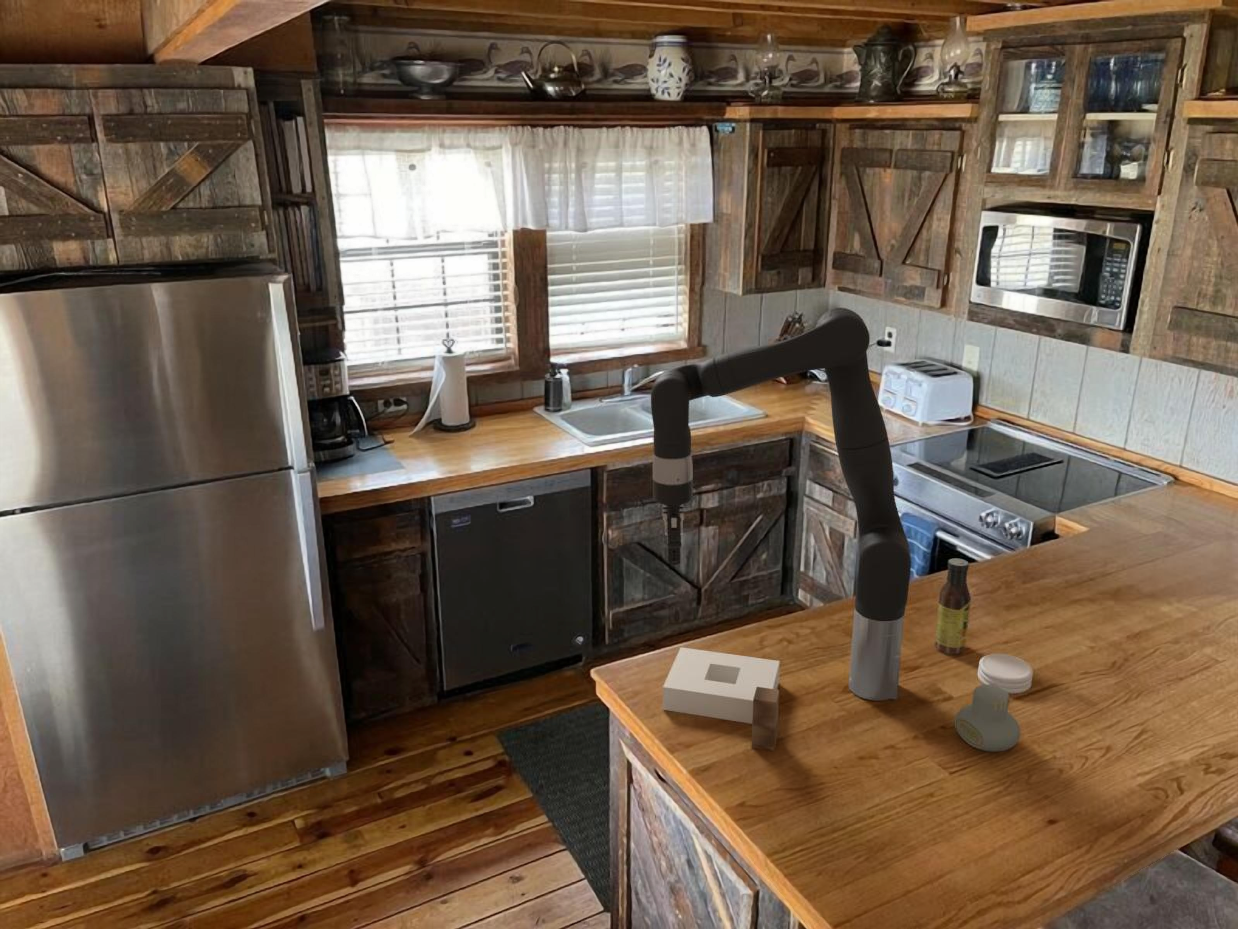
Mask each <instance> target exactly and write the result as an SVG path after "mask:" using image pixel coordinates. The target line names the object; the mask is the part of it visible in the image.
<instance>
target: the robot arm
mask: <svg viewBox="0 0 1238 929" xmlns="http://www.w3.org/2000/svg"><path fill="white" fill-rule="evenodd" d="M870 338H871V335H870V332H869V330H868V326H867V325H866V323H865V321H864V319H863V318H862V317H861V315H859V314H858V313H856V312H855V311H853V310H852V309H849V308H845V307H834V308H830V309H829V310H827V311H825V312H824V313H823V314H822V315H821V316H820V317H819V319H818V321H816V324H815V326H814V328H812V329H810V330H808V331H805V332H803V333H802V334H799V335H796V336H793V337H791V338H787V339H785V340H781V341H777V342H773V343H766V344H761V345H755V346H750V347H745V348H740V349H737V350H733V351H730V352H727V353H724V354H721V355H718V356H714V357H712V358H710V359H707V360H704V361H698V362H694V363H688V364H684V365H679V366H675V367H672V368H669V369H667V370H664V371H663V372H662V373H659V375H658V376H657V378H656V379H655V381H654V383H653V386H652V387H651V392H650V408H651V418H652V419H651V420H652V424H653V440H652V441H653V459H652V492H653V493H652V494H653V496H652V498H653V500H654V501H655V502H656V503H657V504H659V505H664V506H662V520H663V521H664V535H665V536H667V542H666V546H667V553H668V554H667V555H668V559H667V560H668V564H669V565H671V566H675V565H680V564H681V547H682V540H681V539H682V538H681V536H682V535H683V534H684V528H683V526H684V524H683V521H684V520H685V515H684V514H685V511H684V505H686V504H688V503H690V502H691V501H693V499H694V498H693V497H694V493H693V492H694V491H693V490H694V489H693V488H694V486H693V485H694V484H693V483H694V478H693V477H694V473H693V471H694V470H693V457H692V434H691V433H692V432H691V427H690V424H689V420H690V419H689V418H690V411H689V410H690V402H691V401H692V400H697V399H701V398H704V397H707V396H708V397H711V398H717V397H722V396H726V395H730V394H732V393H735V392H740V391H742V390H745V389H748V388H751V387H755V386H758V385H760V384H763V383H767V382H770V381H773V380H776V379H781V378H783V377H787V376H790V375H795V374H800V373H805V372H809V371H815V370H816V371H817V370H821V369H822V370H823V369H824V371H825V375H826V379H827V383H828V386H829V387H828V388H829V392H830V393H829V394H830V403H831V407H830V408H831V417H832V418H831V419H832V425H833V427H832V428H833V433H834V442H835V445H836V450H837V456H838V460H839V464H840V469H841V472H842V475H843V478H844V481H845V484H846V485H847V488H848V491H849V492H850V494H851V497H852V500H853V502H854V506H855V511H856V518H857V527H858V538H859V539H858V566H857V579H856V580H857V582H856V591H855V592H856V593H855V599H854V600H855V601H854V602H855V603H854V612H853V613H854V614H853V626H852V636H851V637H852V639H851V649H850V662H849V672H848V688H849V690H850V691H851V692H852V693H853V694H854V695H856V696H857V697H859V698H862V699H865V700H869V701H878V702H879V701H887V700H897V698H898V690H899V680H900V678H899V677H900V670H901V669H900V668H901V662H902V661H901V659H902V645H903V644H902V642H903V635H904V634H903V632H904V625H905V624H904V622H905V613H906V606H907V602H908V595H909V589H910V588H909V587H910V580H911V579H910V577H911V572H912V569H911V567H912V558H911V549H910V544H909V541H908V538H907V536H906V532H905V530H904V527H903V525H902V521H901V517H900V514H899V510H898V508H897V503H896V502H897V501H896V498H895V486H894V484H895V480H894V467H893V457H892V452H891V445H890V440H889V436H888V431H887V428H886V423H885V420H884V417H883V414H882V410H881V407H880V405H879V404H880V403H879V402H878V398H877V396H876V394H875V391H874V388H873V385H872V381H871V376H870V370H869V362H868V349H869V346H870V341H871V340H870Z"/></svg>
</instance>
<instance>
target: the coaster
mask: <svg viewBox="0 0 1238 929" xmlns="http://www.w3.org/2000/svg"><path fill="white" fill-rule="evenodd" d="M977 669H978V670H977V678H978V680H979V681H980V682H981V684H982V685H994V686H997V687H1000V688H1002V689H1003V690H1005V691H1006V692H1007V693H1008V694H1015V695H1016V694H1021V693H1025V692H1027V691H1028V690H1029V689H1030V688H1031V686H1032V681H1033V676H1034V671H1033V668H1032V667H1031V665H1030V664H1029V663H1028V662H1026V661H1025V660H1023V659H1022V658H1019V657H1016V656H1014V655H1011V654H1005V653H990V654H986V655H984V656H983V657H981V658H980V660H979V662H978V668H977Z"/></svg>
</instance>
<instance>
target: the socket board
mask: <svg viewBox="0 0 1238 929" xmlns="http://www.w3.org/2000/svg"><path fill="white" fill-rule="evenodd" d="M780 663H781V661H780V660H777V659H776V660H775V659H767V658H760V657H752V656H745V655H739V654H732V653H731V654H729V653H725V652H724V653H723V652H717V651H709V650H702V649H696V648H689V647H682V646H681V647H680V648H679V651H678V652H677V654H676V657H675V659H674V661H673V664H672V665H671V668H670V669H669V672H668V674H667V676H666V679H665V682H664V684H663V686H662V710H663V711H668V712H669V711H670V712H676V713H681V714H689V715H695V716H701V717H706V718H712V719H720V720H726V721H732V722H738V723H746V724H752V721H753V699H754V695H755V691H756V688H757V687H762V688H769V689H776V690H778V687H779V682H780V681H779V680H780Z"/></svg>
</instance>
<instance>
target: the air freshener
mask: <svg viewBox="0 0 1238 929" xmlns="http://www.w3.org/2000/svg"><path fill="white" fill-rule="evenodd" d="M1009 703H1010V695H1009V693H1007V692H1006V691H1005V690H1003V689H1002V688H1000V687H997V686H994V685H984V684H980V685H978V686H977V687H975V688H974V690H973V697H972V703H970V704H967V705H965V706H963V707H962V708H960V709H959V710H958V712H957V713H956V715H955V717H954V726H955V729H956V730H957V733H958V735H959V736H960V737H961V739H962V740H964V741H965V742H966V743H967V744H968V745H970V746H971V747H974V748H976V749H978V750H981V751H986V752H994V753H995V752H1002V751H1006V750H1010V749H1011V748H1012V747H1014V746H1015V745H1016V744H1018V741H1019V740H1020V737H1021V727H1020V724H1019V723H1018V721H1017V719H1016V718H1015V717H1014V716H1013V715H1012V714H1011V713H1010V711H1009V706H1010V705H1009Z"/></svg>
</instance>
